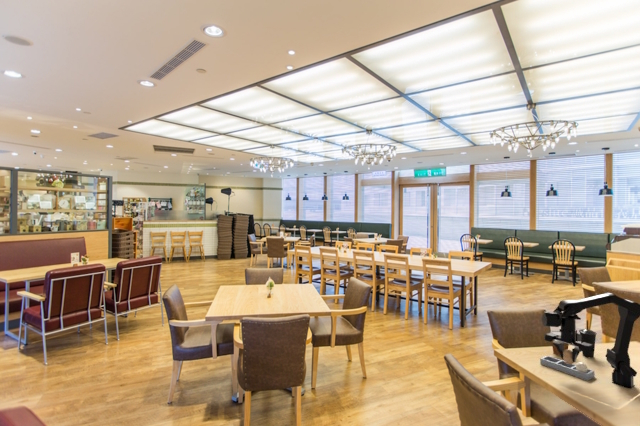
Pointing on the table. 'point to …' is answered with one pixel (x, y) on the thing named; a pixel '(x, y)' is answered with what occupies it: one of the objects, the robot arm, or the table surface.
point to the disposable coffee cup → (554, 345)
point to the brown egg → (567, 356)
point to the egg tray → (566, 367)
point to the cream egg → (581, 367)
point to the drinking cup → (588, 339)
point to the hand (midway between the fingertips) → (568, 360)
